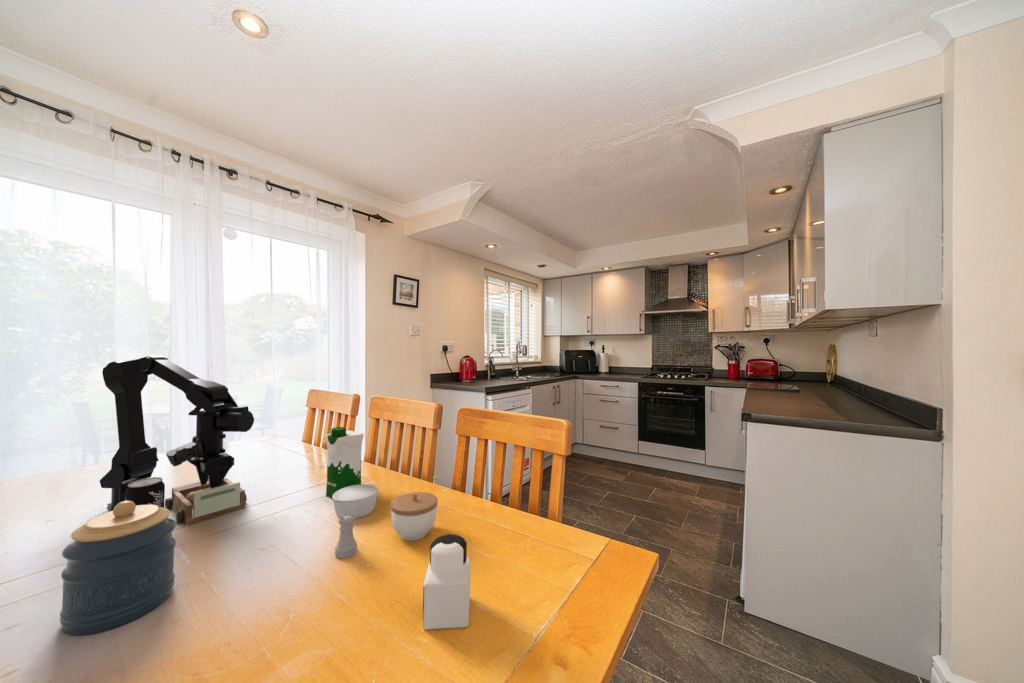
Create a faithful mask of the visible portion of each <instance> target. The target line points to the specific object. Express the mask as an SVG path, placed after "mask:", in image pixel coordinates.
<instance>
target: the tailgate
mask: <svg viewBox="0 0 1024 683" xmlns="http://www.w3.org/2000/svg"><path fill="white" fill-rule="evenodd" d="M240 488H241V482H240V481H235V482H233V483H231V484H227V485H223V486H219V487H215V488H211V489H207V490H203V491H198V492H194V503H193V517H194V518H196V517H199V516H203V515H206V514H210V513H213V512H217V511H220V510H223V509H227V508H230V507H234V506H237V505H240Z"/></svg>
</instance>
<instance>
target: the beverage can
mask: <svg viewBox="0 0 1024 683" xmlns="http://www.w3.org/2000/svg"><path fill="white" fill-rule="evenodd" d="M165 486H166V485H165V482H164V481H163V477H160V476H155V477H154V476H153V477H149V478H145V479H141V480H137V481H134V482H131V483H129V484H128V488H127V489H126V491H125V501H133V502H134V503H135V506H137V505H157V506H159V507H162V508H165V493H166V492H165V490H166V487H165Z"/></svg>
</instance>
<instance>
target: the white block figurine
mask: <svg viewBox="0 0 1024 683" xmlns="http://www.w3.org/2000/svg"><path fill="white" fill-rule="evenodd" d="M467 546H468V545H467V540H466V539H465V538H464V537H463V536H461V535H459V534H454V533H453V534H452V533H451V534H450V533H448V534H442V535H440V536H438V537H436V538H434V539H433V540H432V542H431V543H430V546H429V562H428V566H427V570H426V574H425V579H424V581H423V588H422V589H423V590H422V594H423V595H422V629H423V630H424V631H425V630H427V631H428V630H442V629H444V630H445V629H459V628H461V629H462V628H463V629H464V628H467V627H468V626H469V625H470V624H469V623H470V620H469V619H470V603H471V602H470V601H471V600H470V599H471V558H470V557H469V556H468V557H467V554H468V553H467V551H468V550H467V549H468V548H467Z"/></svg>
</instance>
